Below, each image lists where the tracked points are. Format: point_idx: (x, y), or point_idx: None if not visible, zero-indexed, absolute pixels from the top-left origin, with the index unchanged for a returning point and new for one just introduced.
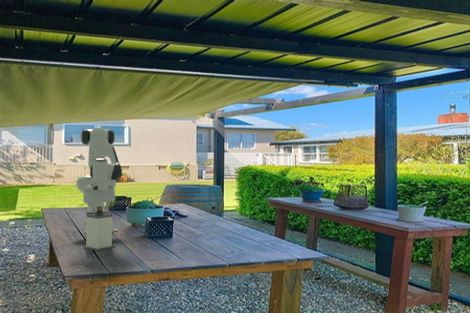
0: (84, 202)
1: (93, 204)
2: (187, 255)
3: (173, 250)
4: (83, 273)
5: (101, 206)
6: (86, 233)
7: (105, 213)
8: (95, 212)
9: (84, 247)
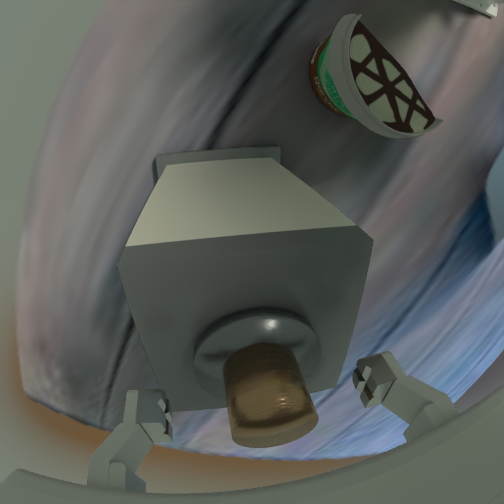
0: (13, 482)
1: (142, 489)
2: (318, 421)
3: (349, 383)
4: (52, 404)
5: (300, 429)
6: (155, 187)
7: (338, 334)
8: (199, 367)
9: (157, 164)
